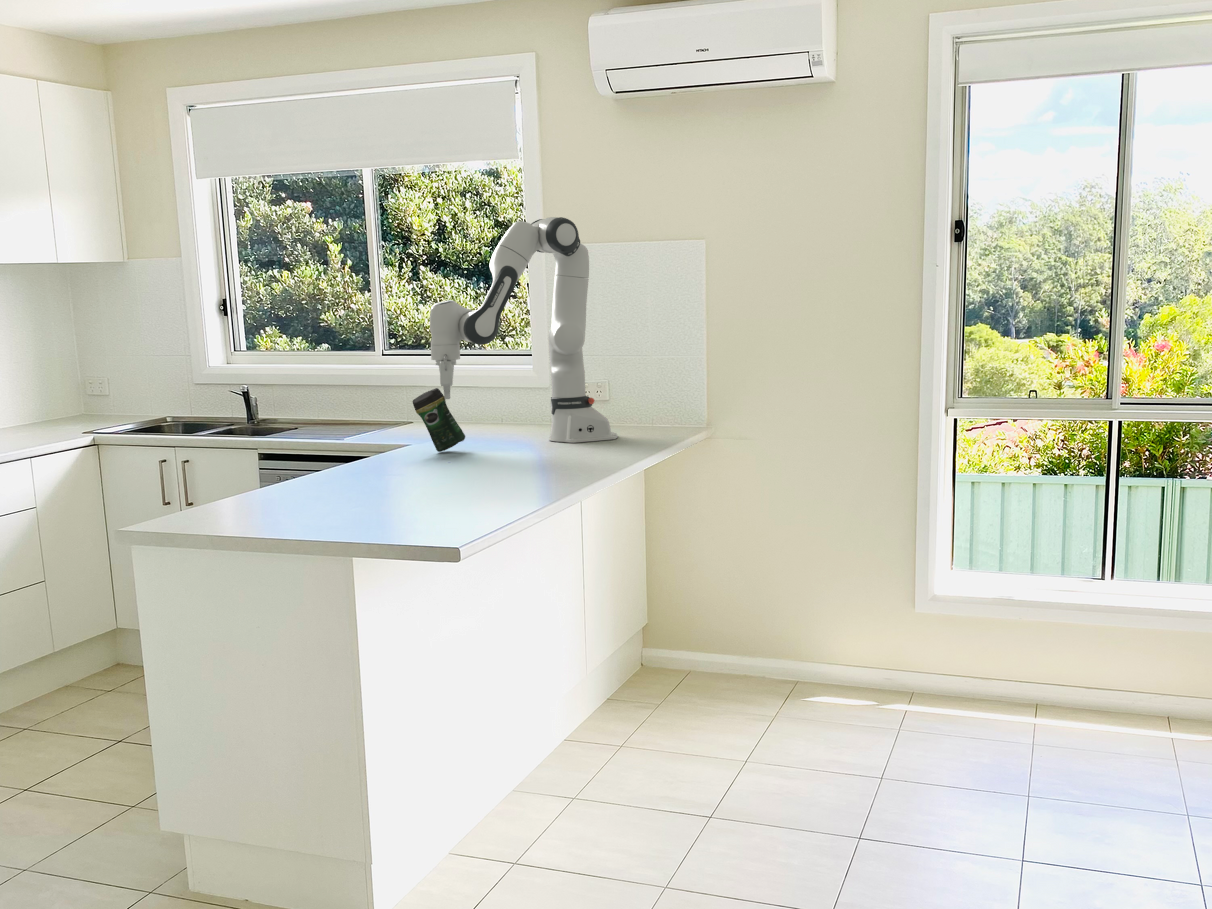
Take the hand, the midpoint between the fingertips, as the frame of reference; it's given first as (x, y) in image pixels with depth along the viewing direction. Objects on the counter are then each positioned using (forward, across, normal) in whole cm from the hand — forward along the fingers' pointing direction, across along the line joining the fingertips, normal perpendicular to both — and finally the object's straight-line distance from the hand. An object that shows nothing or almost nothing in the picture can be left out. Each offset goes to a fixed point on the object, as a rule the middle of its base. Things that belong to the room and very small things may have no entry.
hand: (447, 398), depth 339 cm
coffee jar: (+15, 0, -1) cm, 15 cm away
